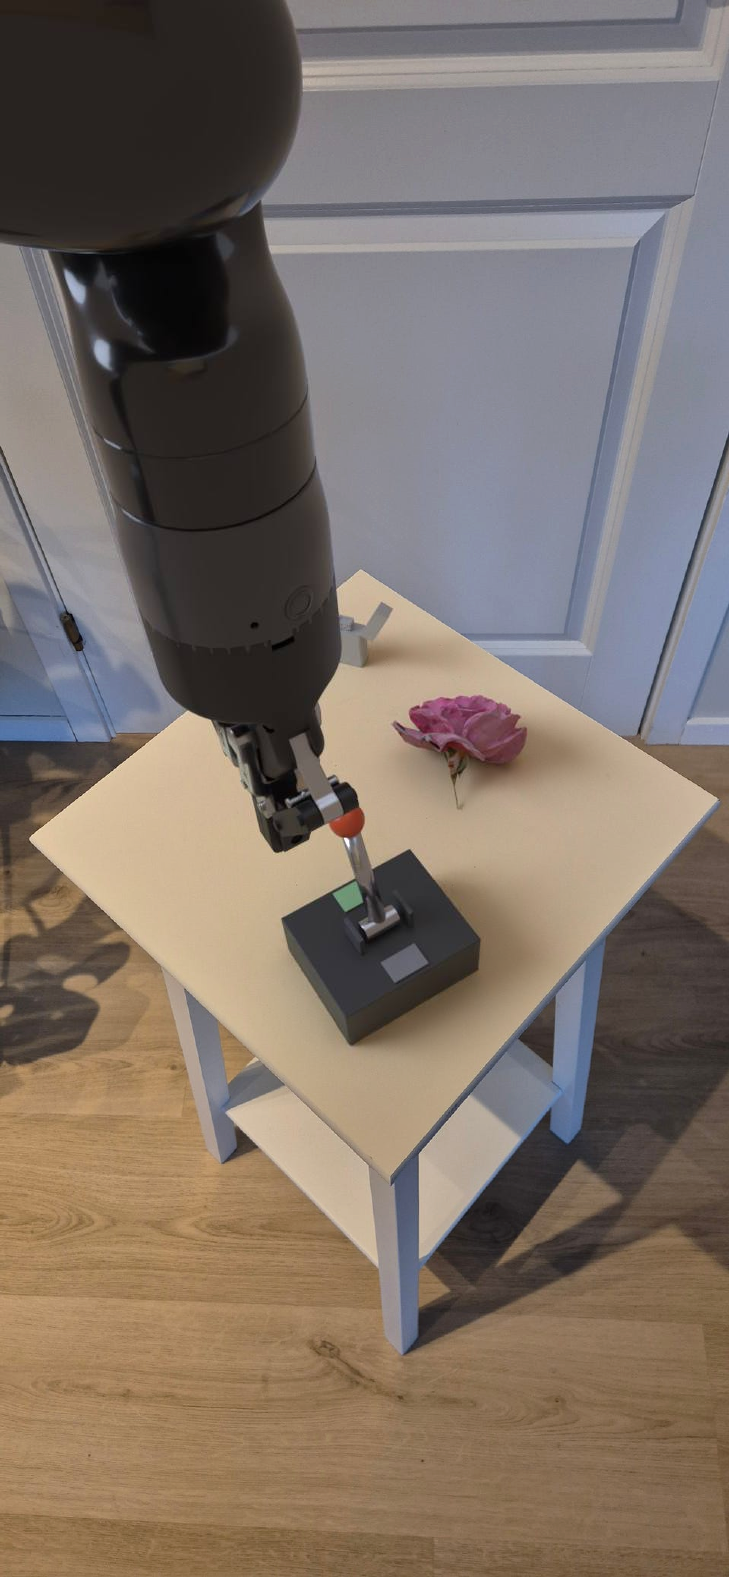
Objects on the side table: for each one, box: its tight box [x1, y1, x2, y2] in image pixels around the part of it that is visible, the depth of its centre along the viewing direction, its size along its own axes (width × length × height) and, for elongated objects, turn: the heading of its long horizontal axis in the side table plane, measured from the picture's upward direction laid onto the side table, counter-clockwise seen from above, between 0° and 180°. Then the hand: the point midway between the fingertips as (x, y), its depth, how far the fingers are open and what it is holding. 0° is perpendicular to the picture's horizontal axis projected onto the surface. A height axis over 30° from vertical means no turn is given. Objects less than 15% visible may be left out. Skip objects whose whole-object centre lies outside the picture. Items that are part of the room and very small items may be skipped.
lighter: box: [339, 601, 394, 668], centre depth 99 cm, size 7×2×8 cm, turn 69°
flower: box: [390, 694, 528, 810], centre depth 90 cm, size 11×10×10 cm
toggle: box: [328, 806, 401, 941], centre depth 74 cm, size 3×3×12 cm
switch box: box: [280, 848, 482, 1046], centre depth 78 cm, size 12×10×7 cm
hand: (286, 836), depth 51 cm, fingers closed
